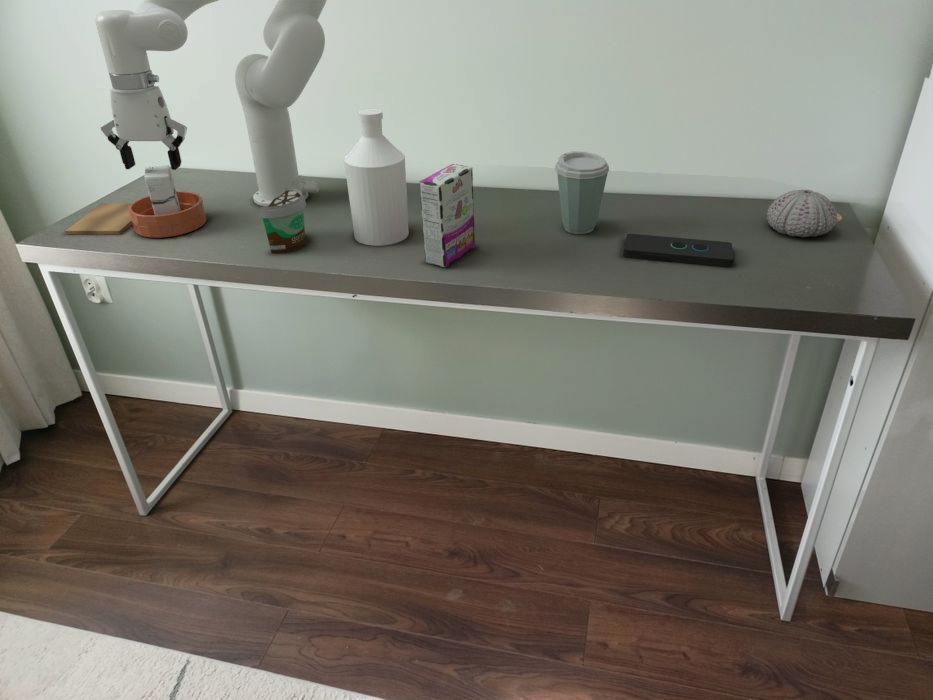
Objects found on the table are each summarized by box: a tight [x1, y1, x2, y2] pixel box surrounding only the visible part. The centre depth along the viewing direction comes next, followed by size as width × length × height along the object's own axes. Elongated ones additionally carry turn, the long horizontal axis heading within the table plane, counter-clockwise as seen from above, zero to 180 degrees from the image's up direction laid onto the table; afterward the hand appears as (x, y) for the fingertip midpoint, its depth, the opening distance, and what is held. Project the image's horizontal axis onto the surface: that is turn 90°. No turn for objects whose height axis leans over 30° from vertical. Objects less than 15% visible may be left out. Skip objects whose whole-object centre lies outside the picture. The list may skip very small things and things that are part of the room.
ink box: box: [143, 164, 181, 215], centre depth 149 cm, size 9×5×12 cm, turn 20°
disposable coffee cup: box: [554, 151, 610, 235], centre depth 142 cm, size 11×11×15 cm
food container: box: [259, 187, 307, 254], centre depth 140 cm, size 12×6×10 cm, turn 168°
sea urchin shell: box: [766, 189, 838, 238], centre depth 141 cm, size 13×14×8 cm
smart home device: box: [622, 233, 734, 268], centre depth 134 cm, size 8×2×20 cm
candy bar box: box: [418, 163, 476, 268], centre depth 132 cm, size 11×5×16 cm, turn 148°
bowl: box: [128, 190, 208, 239], centre depth 151 cm, size 15×15×5 cm
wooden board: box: [64, 202, 133, 235], centre depth 155 cm, size 12×16×1 cm
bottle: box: [343, 108, 410, 247], centre depth 139 cm, size 12×12×25 cm
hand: (153, 167), depth 145 cm, fingers open, 9 cm apart
